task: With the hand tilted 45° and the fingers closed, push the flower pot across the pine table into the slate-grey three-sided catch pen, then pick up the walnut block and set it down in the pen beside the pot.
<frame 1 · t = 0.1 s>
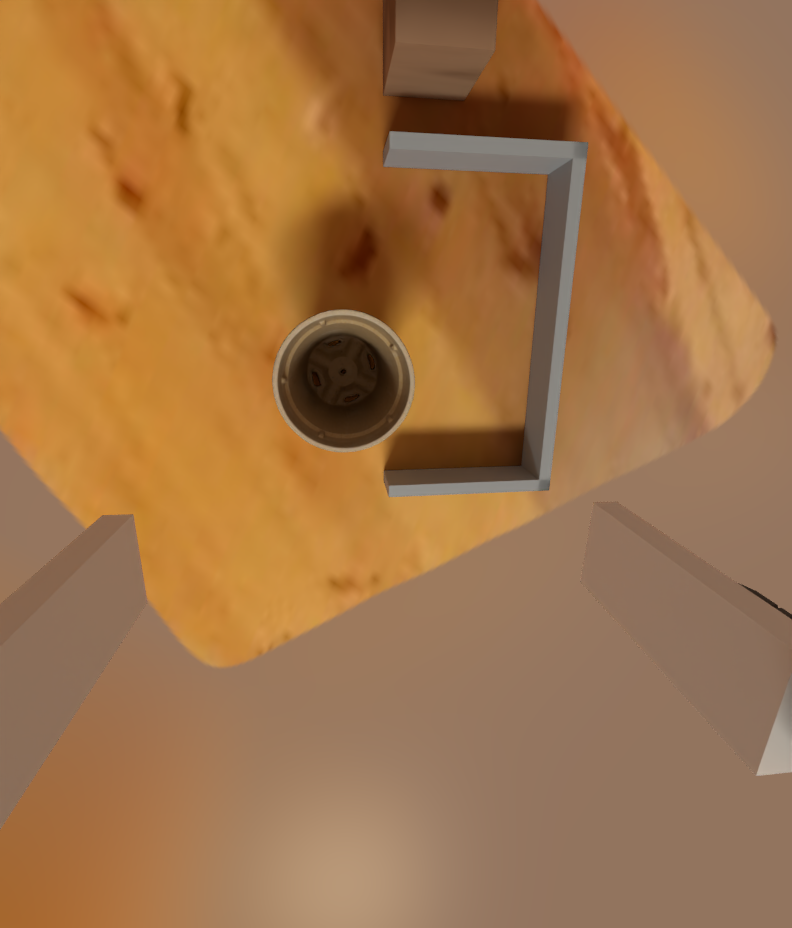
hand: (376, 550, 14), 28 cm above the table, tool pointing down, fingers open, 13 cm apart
walnut block: (424, 48, 33), on the table
flower pot: (341, 369, 39), on the table
catch pen: (460, 333, 39), on the table
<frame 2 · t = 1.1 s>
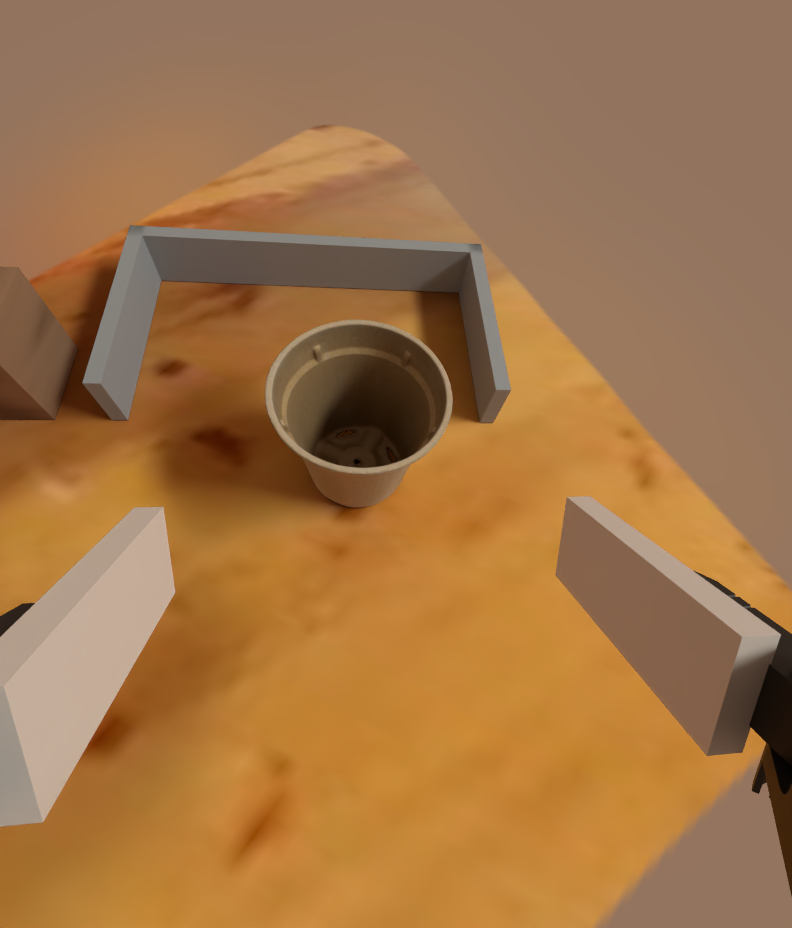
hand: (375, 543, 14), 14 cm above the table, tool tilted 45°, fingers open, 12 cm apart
walnut block: (19, 382, 31), on the table
flower pot: (355, 468, 31), on the table
catch pen: (313, 348, 35), on the table
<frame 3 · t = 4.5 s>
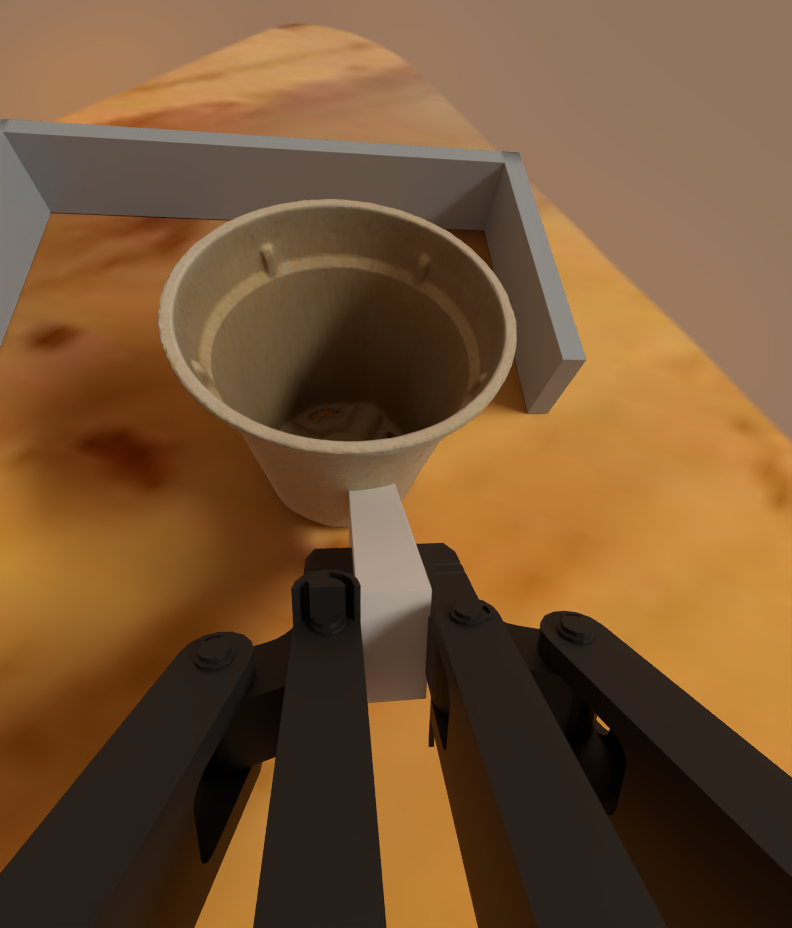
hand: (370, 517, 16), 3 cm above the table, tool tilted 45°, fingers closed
flower pot: (341, 465, 20), on the table, touching gripper
catch pen: (276, 307, 24), on the table
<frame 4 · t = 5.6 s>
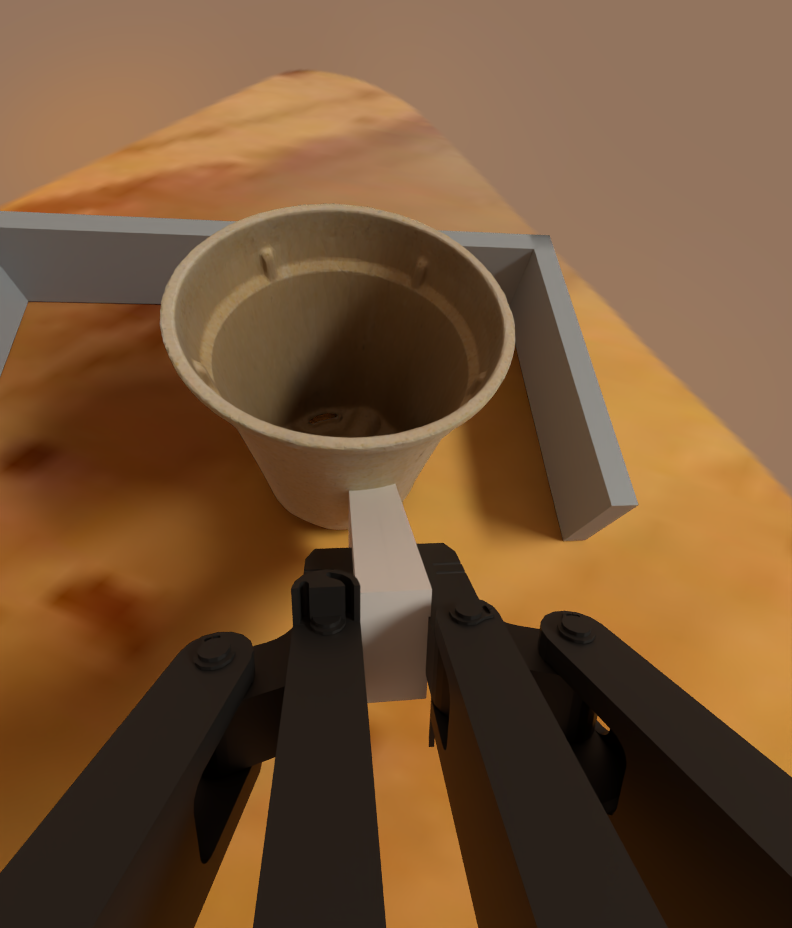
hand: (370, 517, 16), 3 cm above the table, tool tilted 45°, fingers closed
flower pot: (340, 468, 20), on the table, touching gripper
catch pen: (278, 413, 21), on the table
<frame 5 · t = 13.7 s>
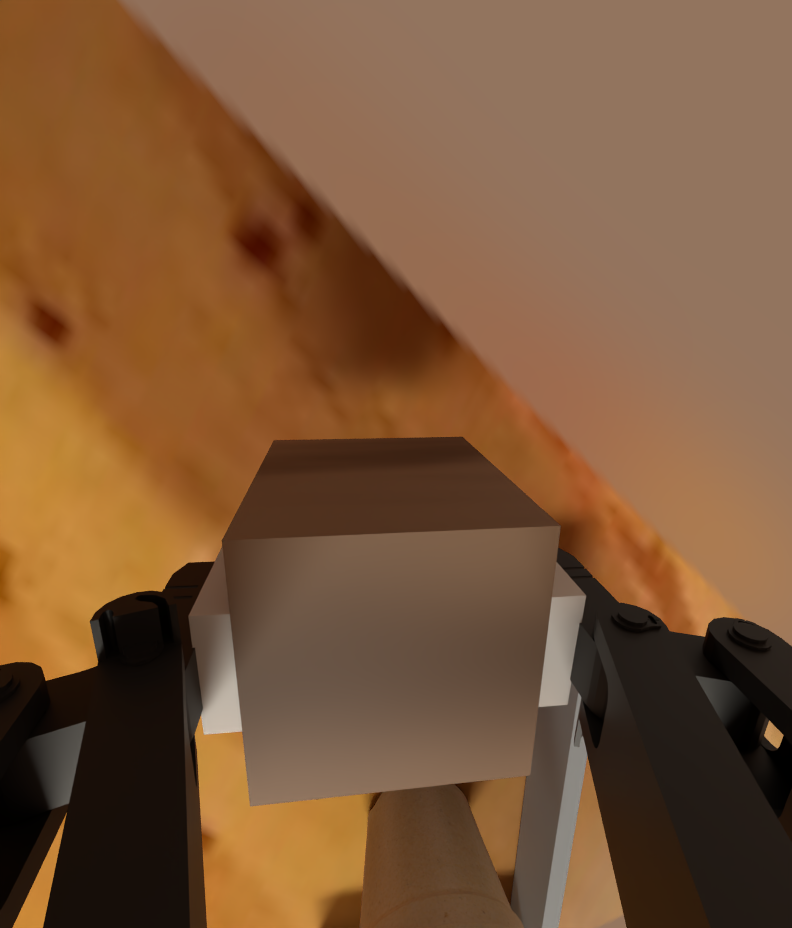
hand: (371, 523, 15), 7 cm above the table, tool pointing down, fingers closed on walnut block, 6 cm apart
walnut block: (370, 525, 16), point 7 cm above the table, touching gripper
flower pot: (416, 808, 29), on the table
catch pen: (422, 784, 28), on the table
when the fingers open (0 cm above the table, at t = 17.7 s): walnut block stays where it is, on the table.
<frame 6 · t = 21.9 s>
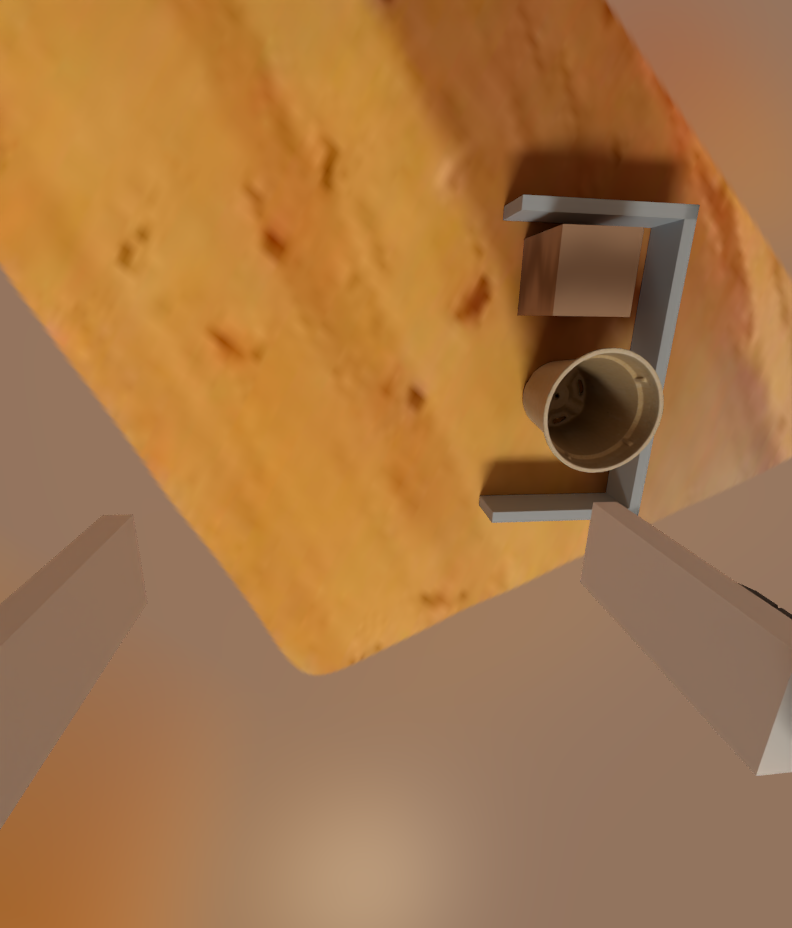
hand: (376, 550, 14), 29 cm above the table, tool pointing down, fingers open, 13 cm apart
walnut block: (554, 278, 40), on the table
flower pot: (552, 393, 43), on the table
catch pen: (559, 370, 42), on the table
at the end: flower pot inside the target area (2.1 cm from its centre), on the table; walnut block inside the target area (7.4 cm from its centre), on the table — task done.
